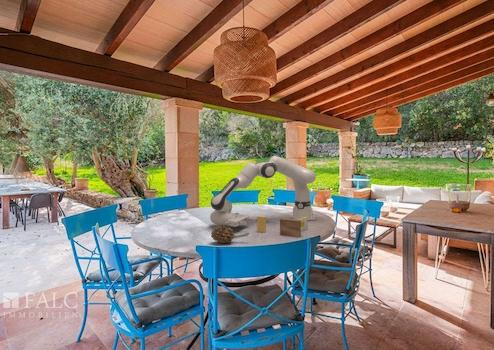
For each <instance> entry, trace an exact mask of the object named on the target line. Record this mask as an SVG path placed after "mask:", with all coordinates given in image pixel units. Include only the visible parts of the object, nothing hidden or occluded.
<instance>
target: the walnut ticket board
mask: <svg viewBox="0 0 494 350" xmlns="http://www.w3.org/2000/svg"><path fill="white" fill-rule="evenodd" d="M279 235H280V236H285V237H286V236H287V237H292V238H300V237H301V236H302V232H301V220H295V219H293V218H284V217H282V218H280V219H279Z"/></svg>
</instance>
